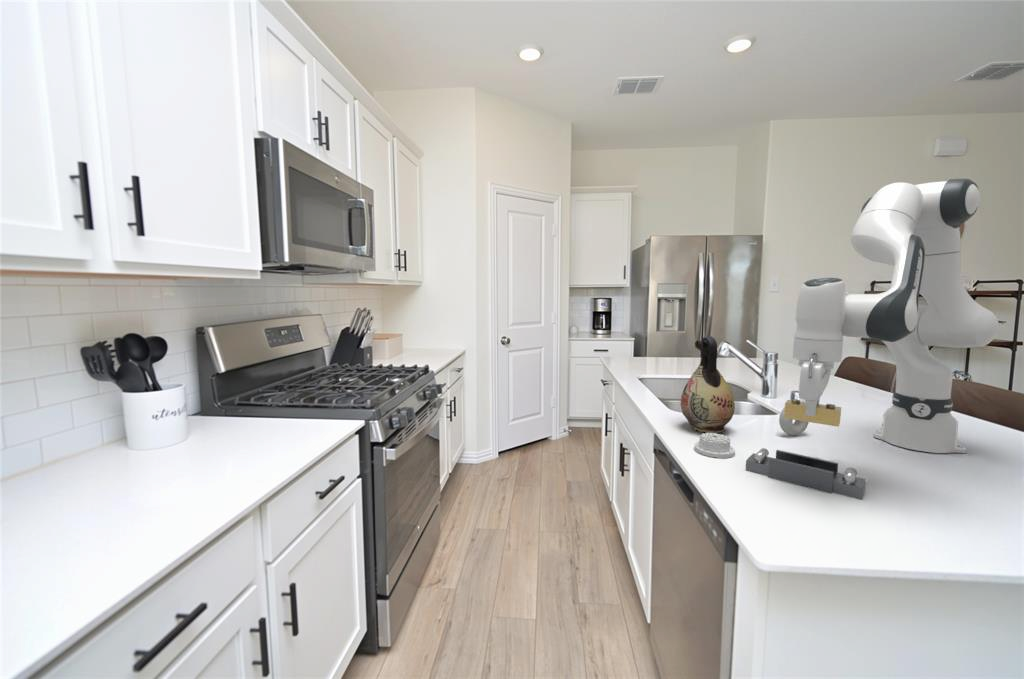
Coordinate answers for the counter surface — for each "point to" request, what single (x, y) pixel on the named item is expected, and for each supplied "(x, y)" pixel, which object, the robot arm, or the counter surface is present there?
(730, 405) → the ceramic jug
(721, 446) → the mechanical component
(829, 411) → the gold block with knob
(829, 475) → the linear slide rail
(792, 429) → the donut
